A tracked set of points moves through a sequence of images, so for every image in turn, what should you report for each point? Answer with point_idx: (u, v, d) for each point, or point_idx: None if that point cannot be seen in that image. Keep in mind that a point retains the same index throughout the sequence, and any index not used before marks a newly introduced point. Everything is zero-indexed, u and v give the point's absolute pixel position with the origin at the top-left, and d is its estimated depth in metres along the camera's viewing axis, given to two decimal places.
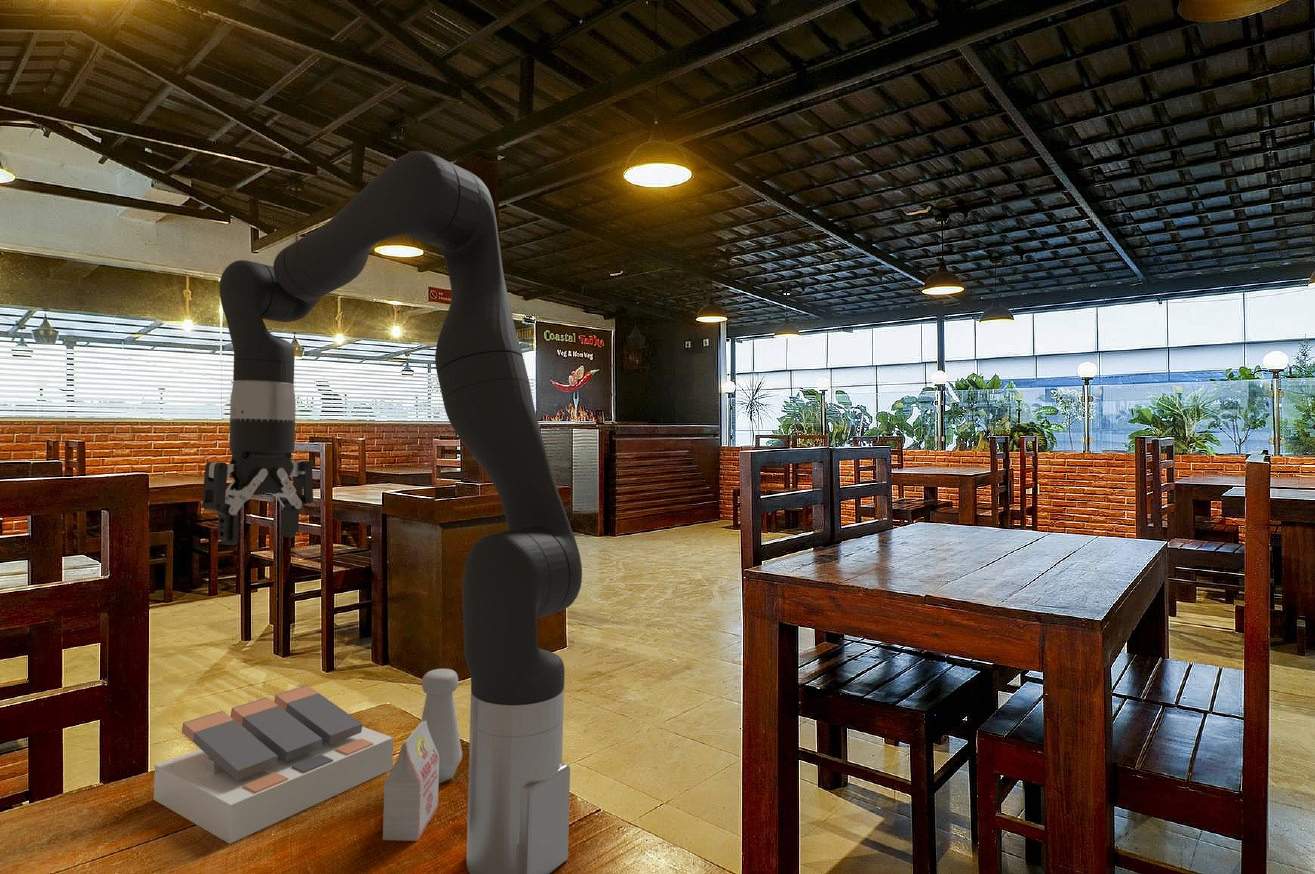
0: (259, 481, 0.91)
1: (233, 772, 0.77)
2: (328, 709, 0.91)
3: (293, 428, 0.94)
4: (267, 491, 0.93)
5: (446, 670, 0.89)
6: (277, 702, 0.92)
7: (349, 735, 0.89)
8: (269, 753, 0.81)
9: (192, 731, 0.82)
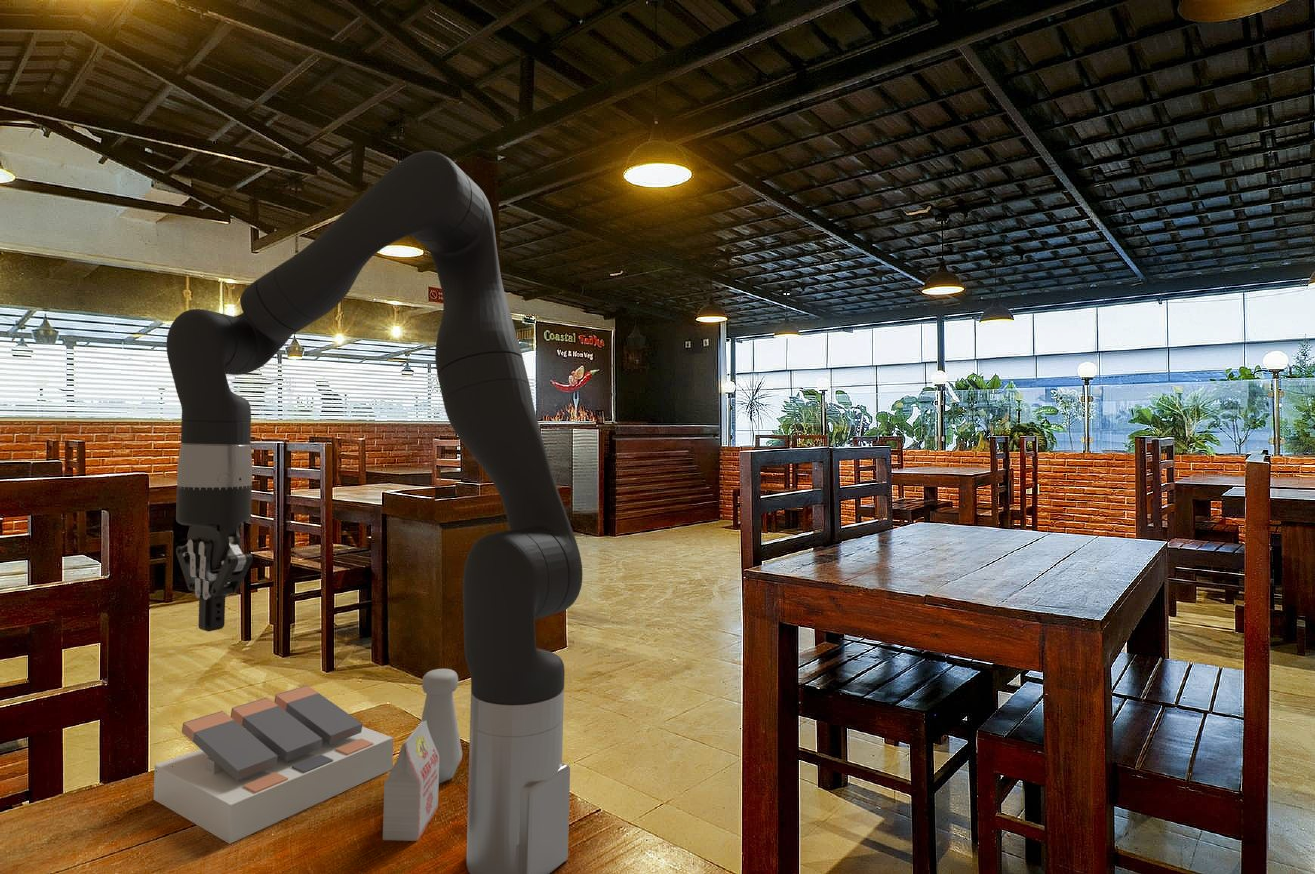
0: None
1: (233, 772, 0.77)
2: (328, 709, 0.91)
3: None
4: None
5: (446, 670, 0.89)
6: (277, 702, 0.92)
7: (349, 735, 0.89)
8: (269, 753, 0.81)
9: (192, 731, 0.82)
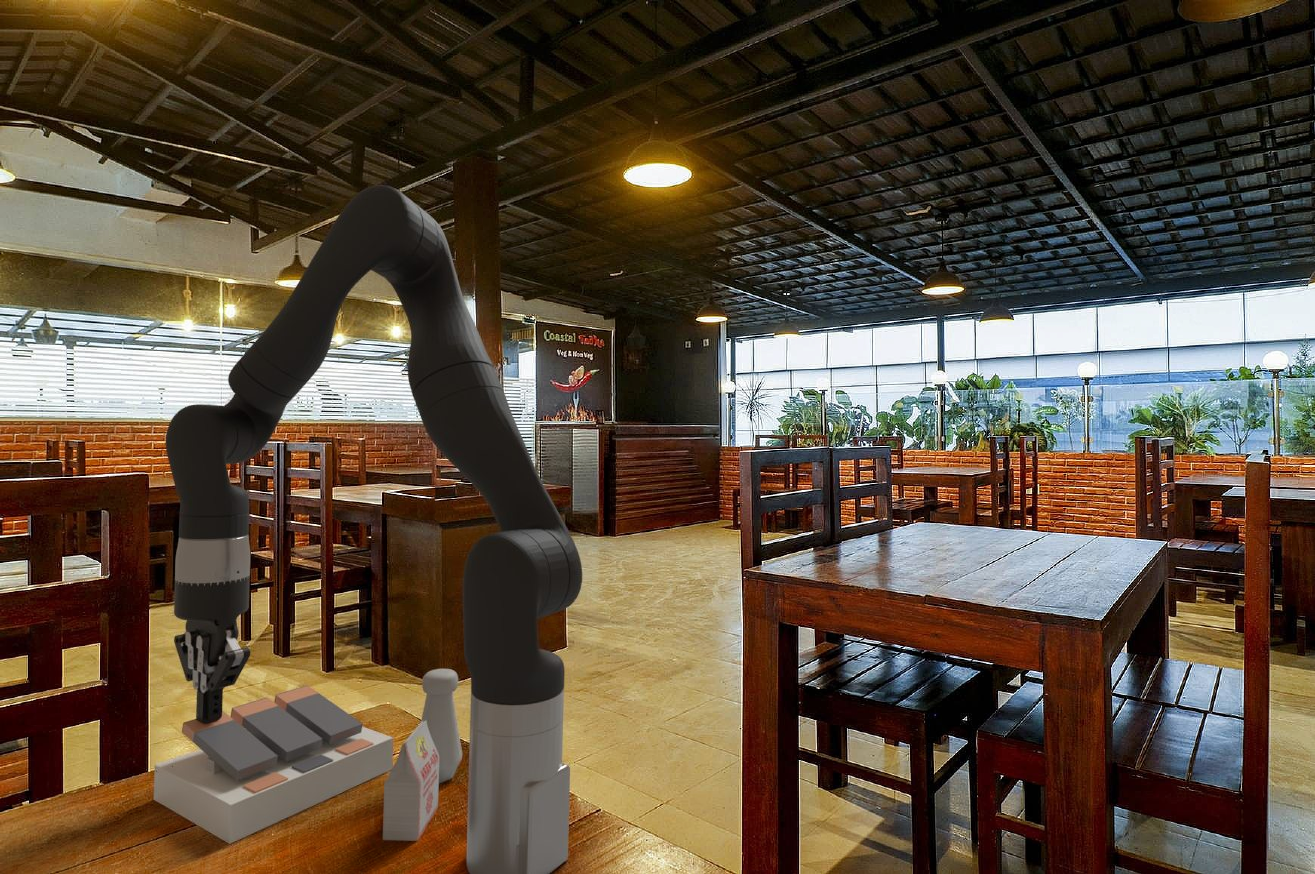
0: None
1: (233, 772, 0.77)
2: (328, 709, 0.91)
3: None
4: None
5: (446, 670, 0.89)
6: (277, 702, 0.92)
7: (349, 735, 0.89)
8: (269, 753, 0.81)
9: (192, 731, 0.82)
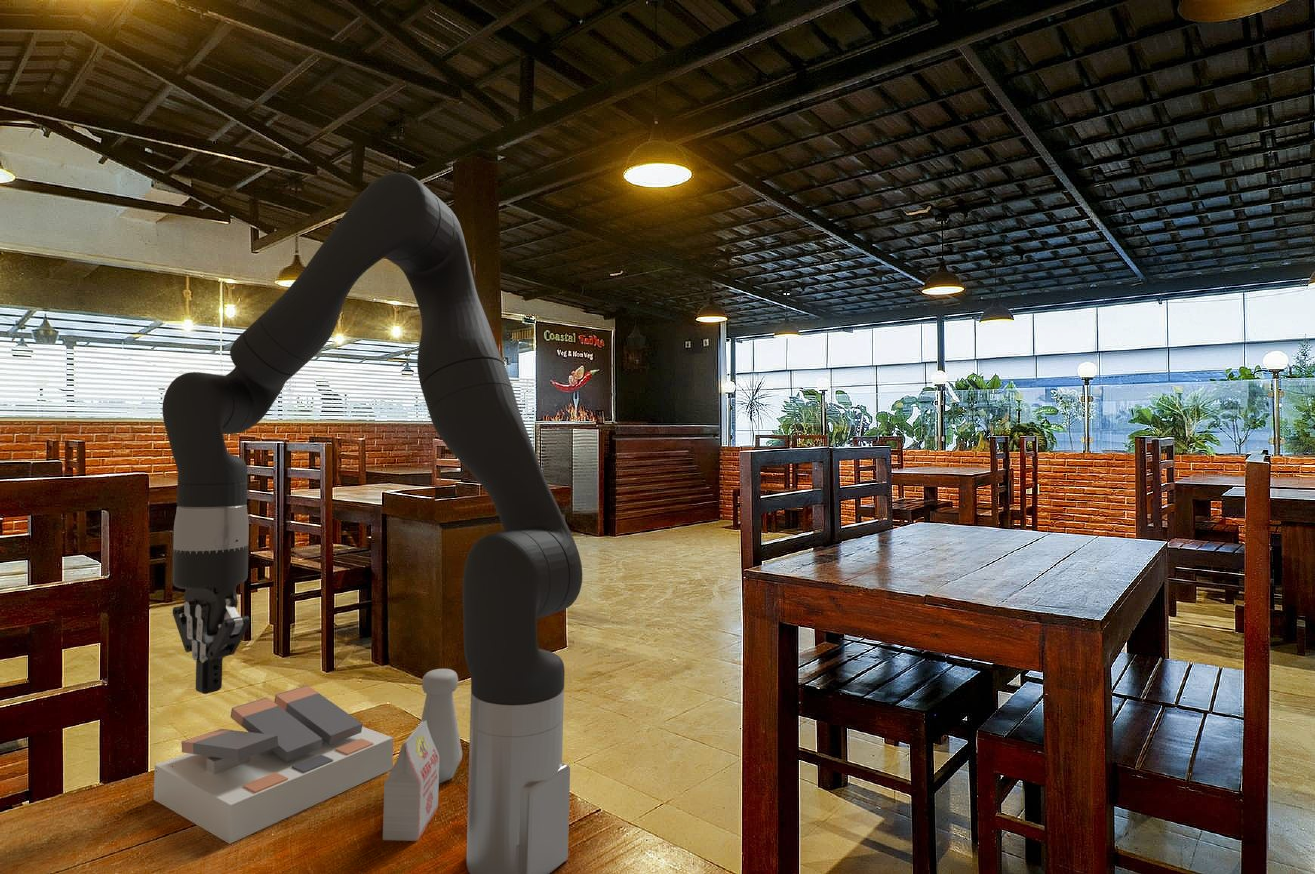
0: None
1: (234, 753, 0.77)
2: (328, 709, 0.91)
3: None
4: None
5: (446, 670, 0.89)
6: (277, 702, 0.92)
7: (349, 735, 0.89)
8: (268, 736, 0.81)
9: (191, 743, 0.82)
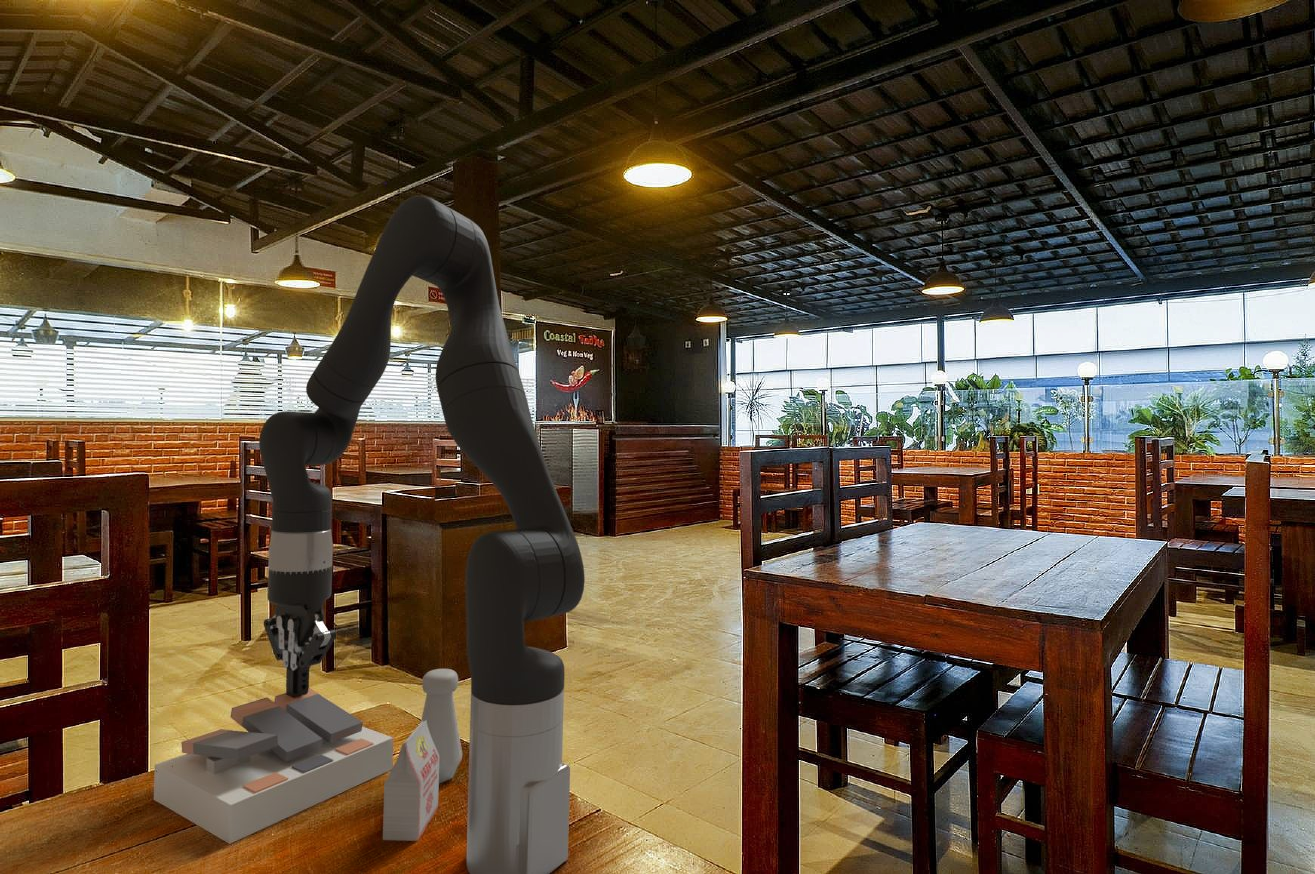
0: None
1: (234, 753, 0.77)
2: (328, 709, 0.91)
3: None
4: None
5: (446, 670, 0.89)
6: (277, 703, 0.92)
7: (349, 734, 0.89)
8: (268, 735, 0.81)
9: (191, 743, 0.82)
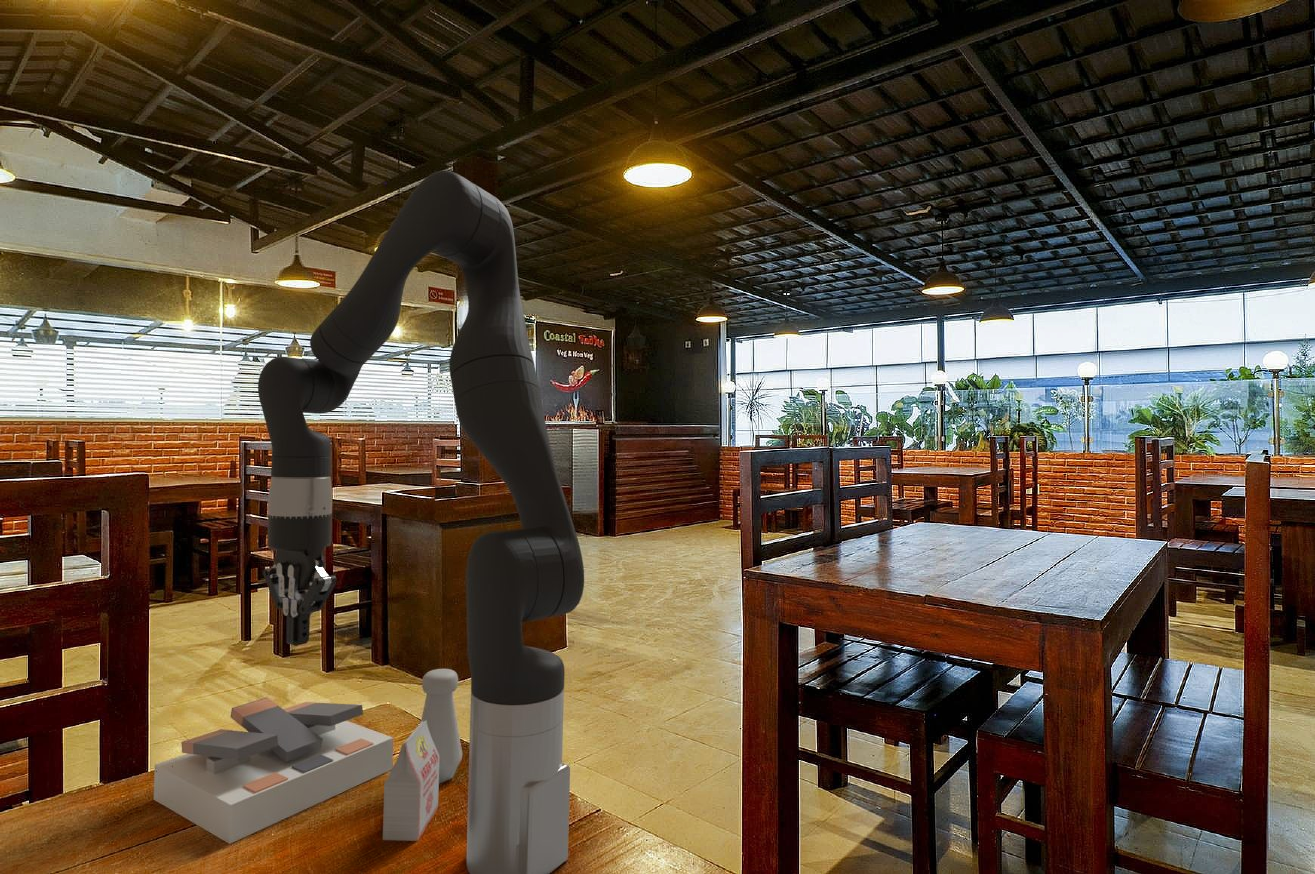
0: None
1: (234, 753, 0.77)
2: (327, 706, 0.92)
3: None
4: None
5: (446, 670, 0.89)
6: None
7: (350, 716, 0.88)
8: (268, 735, 0.81)
9: (191, 743, 0.82)
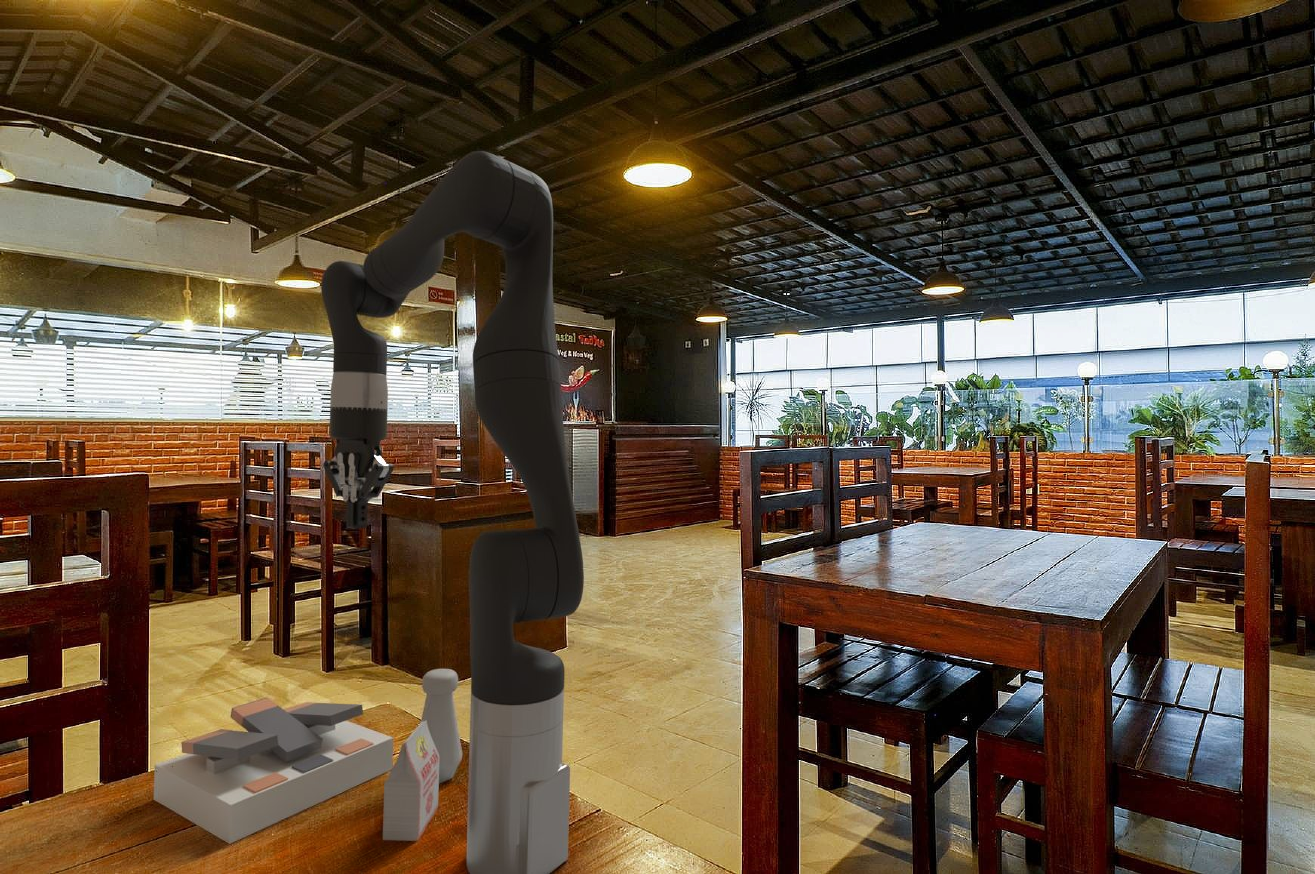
0: None
1: (234, 753, 0.77)
2: (327, 706, 0.92)
3: None
4: None
5: (446, 670, 0.89)
6: None
7: (350, 716, 0.88)
8: (268, 735, 0.81)
9: (191, 743, 0.82)
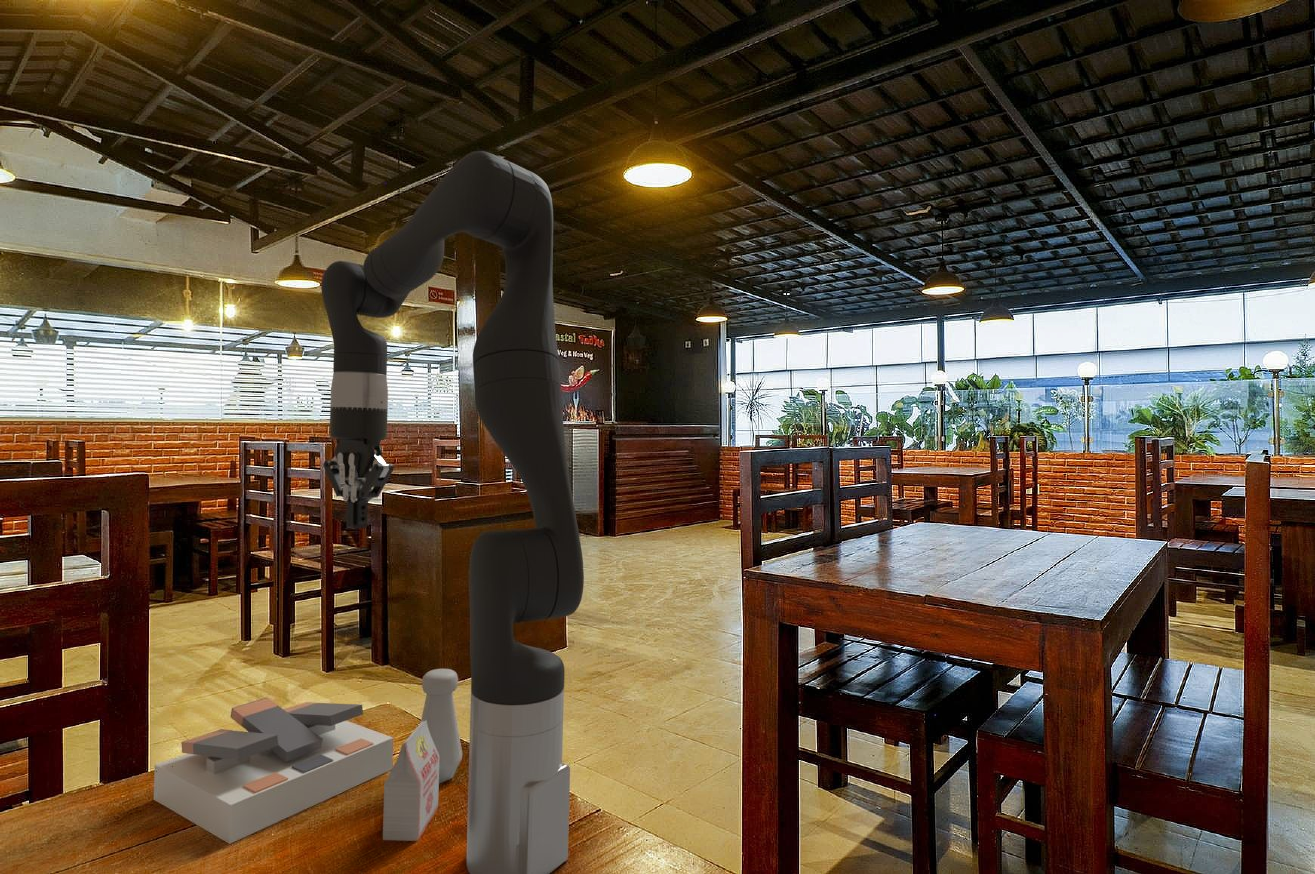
0: None
1: (234, 753, 0.77)
2: (327, 706, 0.92)
3: None
4: None
5: (446, 670, 0.89)
6: None
7: (350, 716, 0.88)
8: (268, 735, 0.81)
9: (191, 743, 0.82)
